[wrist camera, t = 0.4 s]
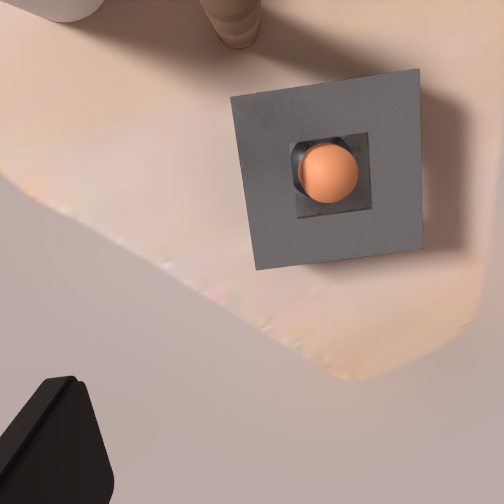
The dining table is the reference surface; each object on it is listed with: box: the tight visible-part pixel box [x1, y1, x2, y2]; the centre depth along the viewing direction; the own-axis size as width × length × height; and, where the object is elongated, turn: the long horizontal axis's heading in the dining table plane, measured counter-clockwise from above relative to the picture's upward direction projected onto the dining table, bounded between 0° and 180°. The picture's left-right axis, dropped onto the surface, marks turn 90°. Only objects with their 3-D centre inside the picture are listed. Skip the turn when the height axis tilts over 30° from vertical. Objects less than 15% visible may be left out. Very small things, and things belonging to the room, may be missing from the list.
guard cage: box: [230, 68, 423, 270], centre depth 32 cm, size 12×12×6 cm
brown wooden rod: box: [199, 0, 260, 49], centre depth 26 cm, size 3×3×13 cm
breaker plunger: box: [298, 143, 358, 203], centre depth 32 cm, size 4×4×2 cm
